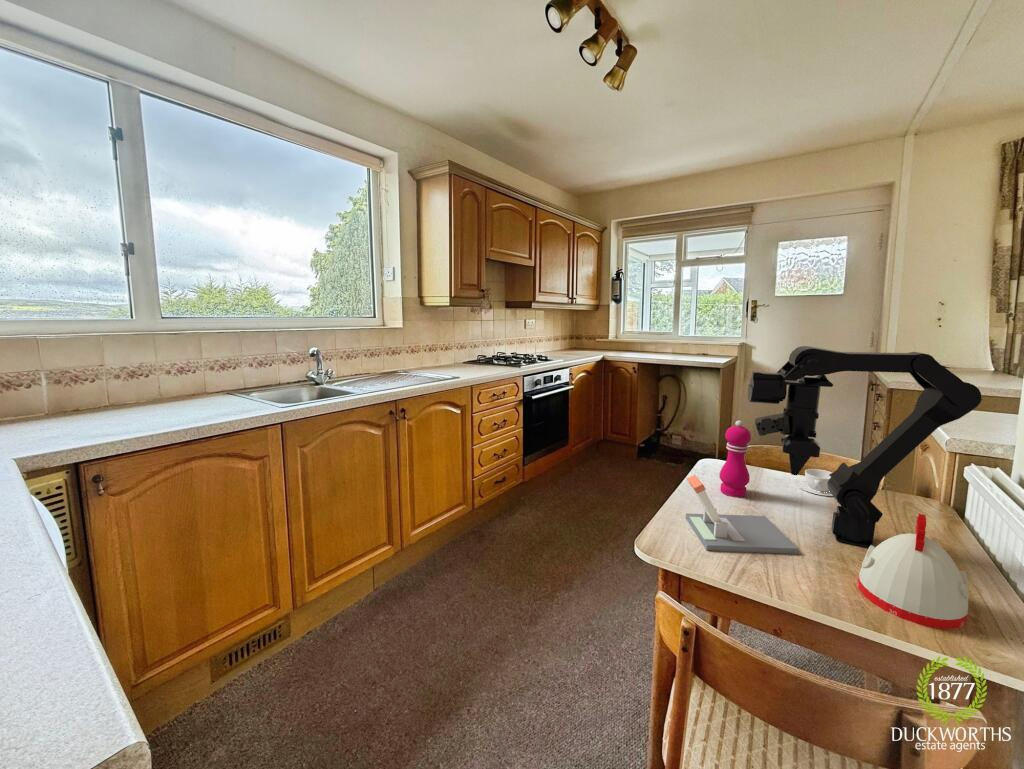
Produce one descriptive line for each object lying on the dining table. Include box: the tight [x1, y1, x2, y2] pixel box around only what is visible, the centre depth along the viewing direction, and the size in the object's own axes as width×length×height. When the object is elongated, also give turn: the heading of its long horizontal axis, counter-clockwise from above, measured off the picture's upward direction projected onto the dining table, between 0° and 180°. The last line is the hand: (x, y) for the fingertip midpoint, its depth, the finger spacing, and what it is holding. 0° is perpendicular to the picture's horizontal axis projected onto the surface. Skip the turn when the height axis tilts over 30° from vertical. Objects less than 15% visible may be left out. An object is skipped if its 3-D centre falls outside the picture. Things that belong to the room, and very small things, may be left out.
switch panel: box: [685, 508, 799, 555], centre depth 96 cm, size 18×14×4 cm
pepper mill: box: [718, 420, 752, 498], centre depth 117 cm, size 7×7×20 cm
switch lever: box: [686, 474, 722, 524], centre depth 96 cm, size 2×5×10 cm, turn 173°
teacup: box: [797, 468, 833, 497], centre depth 120 cm, size 10×10×5 cm
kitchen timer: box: [857, 513, 970, 630], centre depth 74 cm, size 14×14×15 cm
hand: (793, 474), depth 97 cm, fingers closed
